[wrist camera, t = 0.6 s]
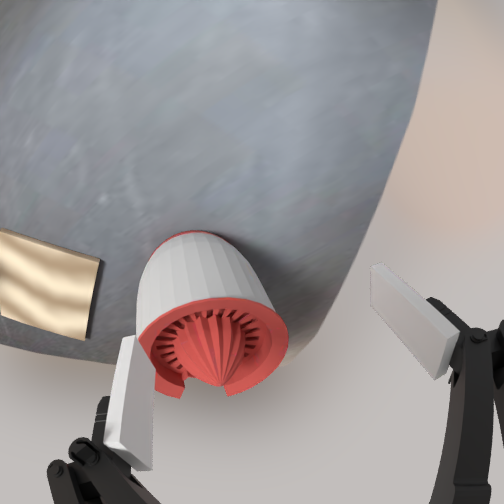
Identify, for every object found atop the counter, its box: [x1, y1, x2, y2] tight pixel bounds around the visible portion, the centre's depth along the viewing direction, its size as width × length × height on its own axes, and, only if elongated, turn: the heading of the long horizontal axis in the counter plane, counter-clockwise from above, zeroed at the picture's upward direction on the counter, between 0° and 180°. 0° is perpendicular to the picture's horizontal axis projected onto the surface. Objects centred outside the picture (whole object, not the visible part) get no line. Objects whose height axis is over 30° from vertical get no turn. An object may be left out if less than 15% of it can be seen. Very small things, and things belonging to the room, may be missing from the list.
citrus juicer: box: [136, 230, 289, 398], centre depth 34 cm, size 16×17×20 cm
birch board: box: [0, 228, 100, 341], centre depth 35 cm, size 16×16×1 cm
